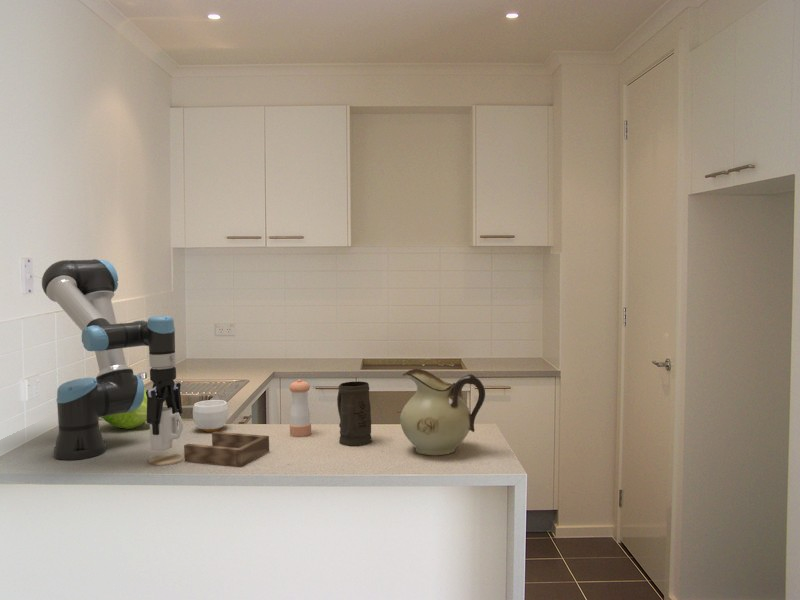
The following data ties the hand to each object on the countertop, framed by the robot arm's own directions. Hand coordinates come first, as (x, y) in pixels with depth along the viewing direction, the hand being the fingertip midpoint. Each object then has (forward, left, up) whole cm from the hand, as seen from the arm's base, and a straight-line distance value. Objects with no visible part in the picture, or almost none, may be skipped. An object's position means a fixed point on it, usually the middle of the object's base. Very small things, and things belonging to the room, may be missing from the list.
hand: (166, 441), depth 213 cm
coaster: (0, 0, -6) cm, 6 cm away
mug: (0, 0, -2) cm, 2 cm away
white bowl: (-8, +36, -6) cm, 37 cm away
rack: (+15, +9, -6) cm, 18 cm away
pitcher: (+77, +33, -6) cm, 84 cm away
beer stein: (+46, +36, -6) cm, 59 cm away
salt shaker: (+26, +39, -6) cm, 47 cm away
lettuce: (-39, +31, -6) cm, 50 cm away
